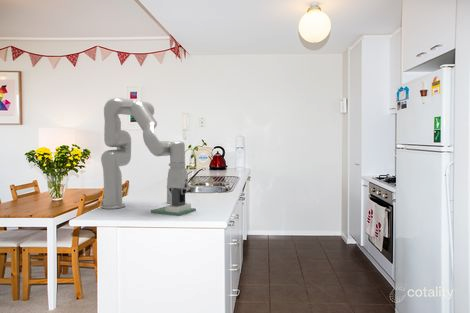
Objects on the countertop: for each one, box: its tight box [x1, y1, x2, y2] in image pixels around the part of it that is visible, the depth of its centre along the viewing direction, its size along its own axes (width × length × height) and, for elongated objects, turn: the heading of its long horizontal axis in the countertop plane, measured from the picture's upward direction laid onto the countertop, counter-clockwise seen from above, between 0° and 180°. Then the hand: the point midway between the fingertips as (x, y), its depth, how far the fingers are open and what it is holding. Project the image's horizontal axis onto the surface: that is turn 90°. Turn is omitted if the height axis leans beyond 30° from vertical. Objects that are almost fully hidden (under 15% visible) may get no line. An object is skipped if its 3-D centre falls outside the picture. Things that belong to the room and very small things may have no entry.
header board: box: [150, 202, 197, 217], centre depth 194 cm, size 18×14×4 cm
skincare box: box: [166, 177, 172, 205], centre depth 219 cm, size 8×6×15 cm
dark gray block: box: [171, 189, 186, 206], centre depth 193 cm, size 4×7×8 cm, turn 153°
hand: (178, 201), depth 192 cm, fingers closed on dark gray block, 4 cm apart
